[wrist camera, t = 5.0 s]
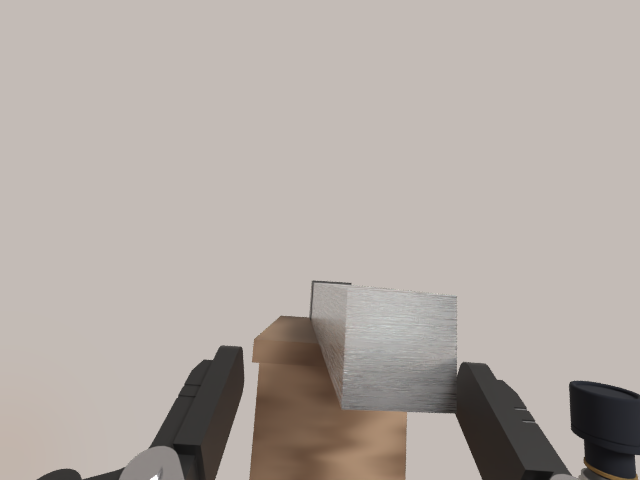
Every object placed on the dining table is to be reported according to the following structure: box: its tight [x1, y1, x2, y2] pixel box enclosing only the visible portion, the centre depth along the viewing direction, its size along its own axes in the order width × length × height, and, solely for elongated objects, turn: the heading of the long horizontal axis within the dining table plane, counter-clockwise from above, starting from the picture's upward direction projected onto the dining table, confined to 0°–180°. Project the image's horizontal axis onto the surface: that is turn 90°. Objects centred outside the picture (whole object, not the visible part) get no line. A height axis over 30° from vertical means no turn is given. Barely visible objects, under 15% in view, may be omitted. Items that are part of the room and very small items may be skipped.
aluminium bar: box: [309, 281, 457, 413], centre depth 22 cm, size 4×24×4 cm, turn 4°
